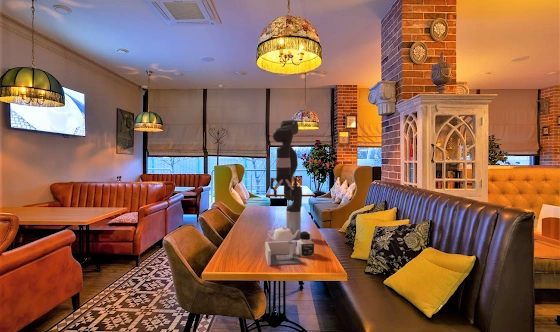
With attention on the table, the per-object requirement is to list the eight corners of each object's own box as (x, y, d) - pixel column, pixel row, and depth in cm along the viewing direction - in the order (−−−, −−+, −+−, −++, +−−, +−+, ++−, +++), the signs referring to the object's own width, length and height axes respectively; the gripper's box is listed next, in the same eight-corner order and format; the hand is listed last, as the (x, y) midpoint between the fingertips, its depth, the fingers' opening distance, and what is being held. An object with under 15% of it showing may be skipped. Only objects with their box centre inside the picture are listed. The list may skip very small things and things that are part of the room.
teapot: (299, 239, 185) (299, 223, 185) (300, 245, 173) (300, 228, 172) (267, 239, 185) (267, 223, 185) (266, 245, 173) (266, 228, 173)
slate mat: (267, 255, 154) (267, 254, 154) (295, 254, 156) (295, 253, 156) (270, 265, 140) (270, 264, 140) (301, 264, 142) (301, 262, 142)
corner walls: (265, 255, 155) (265, 242, 155) (295, 253, 157) (295, 240, 157) (268, 265, 140) (268, 251, 140) (301, 264, 142) (301, 249, 142)
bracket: (276, 260, 145) (276, 244, 144) (275, 257, 150) (275, 242, 149) (292, 260, 146) (292, 244, 146) (291, 256, 151) (291, 241, 150)
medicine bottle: (301, 257, 152) (301, 234, 152) (296, 253, 159) (297, 231, 158) (314, 256, 154) (314, 233, 153) (309, 251, 161) (309, 230, 160)
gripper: (271, 167, 151) (271, 198, 152) (298, 166, 153) (298, 197, 154) (269, 166, 158) (269, 196, 159) (295, 166, 160) (295, 195, 161)
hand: (283, 196), depth 156 cm, fingers open, 8 cm apart
